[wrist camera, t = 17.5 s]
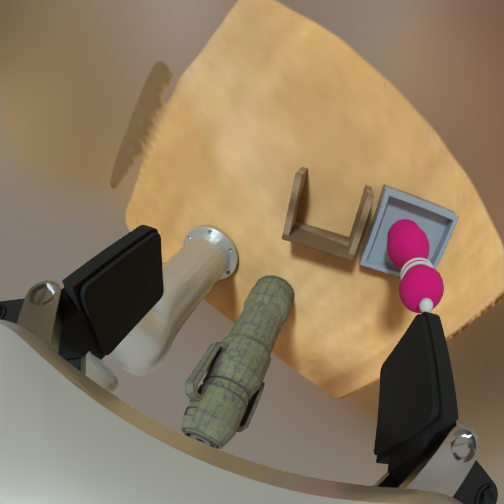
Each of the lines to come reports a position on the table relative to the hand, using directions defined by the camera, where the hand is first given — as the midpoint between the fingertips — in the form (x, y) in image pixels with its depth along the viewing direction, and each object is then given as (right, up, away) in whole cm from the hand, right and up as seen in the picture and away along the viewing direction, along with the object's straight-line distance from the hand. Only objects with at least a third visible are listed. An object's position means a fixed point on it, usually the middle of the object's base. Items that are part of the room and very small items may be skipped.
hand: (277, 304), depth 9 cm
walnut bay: (+12, +10, +36) cm, 39 cm away
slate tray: (+26, +5, +33) cm, 43 cm away
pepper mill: (+25, +5, +33) cm, 42 cm away
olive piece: (+4, -7, +49) cm, 50 cm away
